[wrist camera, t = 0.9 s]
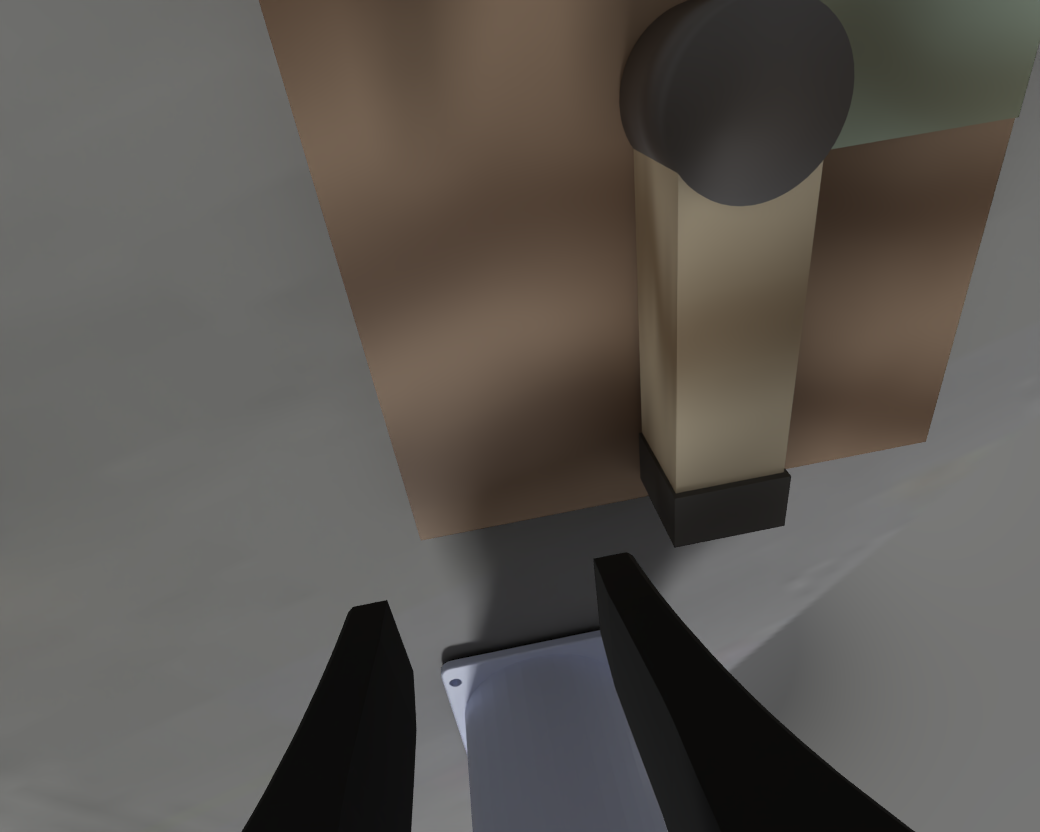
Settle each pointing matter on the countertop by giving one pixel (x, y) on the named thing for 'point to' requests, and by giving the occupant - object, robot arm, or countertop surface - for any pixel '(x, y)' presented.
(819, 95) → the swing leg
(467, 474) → the wooden board
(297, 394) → the countertop surface
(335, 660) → the robot arm
